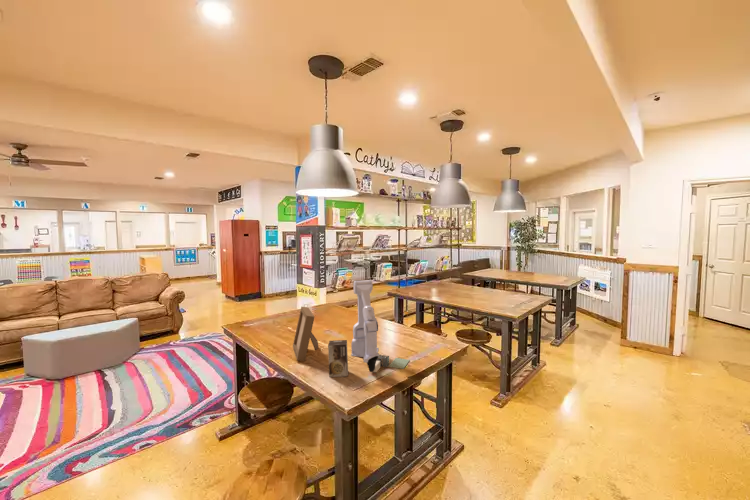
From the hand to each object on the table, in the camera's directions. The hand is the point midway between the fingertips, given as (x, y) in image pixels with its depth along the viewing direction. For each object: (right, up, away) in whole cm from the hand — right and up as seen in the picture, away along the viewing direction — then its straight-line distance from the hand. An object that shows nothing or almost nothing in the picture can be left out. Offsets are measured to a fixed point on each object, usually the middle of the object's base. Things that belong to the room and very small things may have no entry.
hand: (371, 370), depth 157 cm
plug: (+2, -1, +5) cm, 6 cm away
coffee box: (-16, -2, 0) cm, 16 cm away
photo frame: (-38, 0, +27) cm, 46 cm away
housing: (+4, 0, +10) cm, 10 cm away
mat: (+15, 0, +11) cm, 18 cm away
